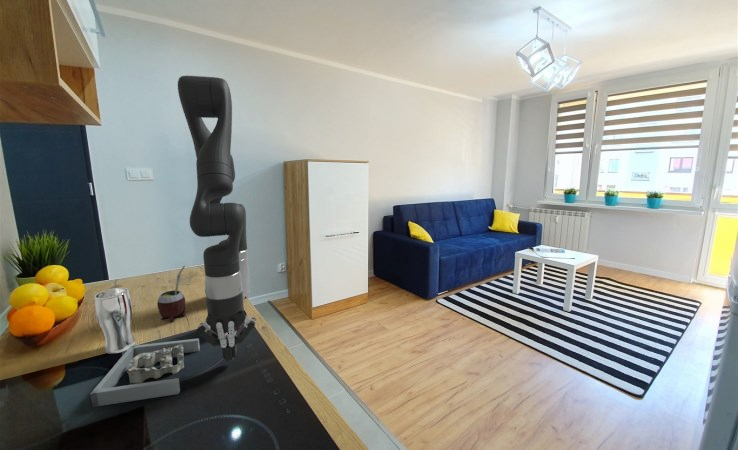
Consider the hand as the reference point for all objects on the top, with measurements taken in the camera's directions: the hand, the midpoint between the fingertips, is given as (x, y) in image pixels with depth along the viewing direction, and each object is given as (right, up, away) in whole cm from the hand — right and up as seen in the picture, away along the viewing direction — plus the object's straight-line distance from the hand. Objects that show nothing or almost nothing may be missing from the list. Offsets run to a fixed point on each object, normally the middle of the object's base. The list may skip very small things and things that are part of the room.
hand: (230, 358), depth 72 cm
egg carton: (-16, -2, -2) cm, 16 cm away
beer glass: (-31, 0, +6) cm, 32 cm away
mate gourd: (-27, +3, +22) cm, 35 cm away
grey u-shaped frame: (-15, -2, -3) cm, 16 cm away
